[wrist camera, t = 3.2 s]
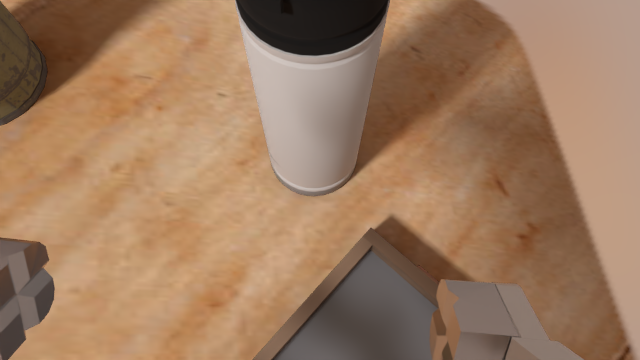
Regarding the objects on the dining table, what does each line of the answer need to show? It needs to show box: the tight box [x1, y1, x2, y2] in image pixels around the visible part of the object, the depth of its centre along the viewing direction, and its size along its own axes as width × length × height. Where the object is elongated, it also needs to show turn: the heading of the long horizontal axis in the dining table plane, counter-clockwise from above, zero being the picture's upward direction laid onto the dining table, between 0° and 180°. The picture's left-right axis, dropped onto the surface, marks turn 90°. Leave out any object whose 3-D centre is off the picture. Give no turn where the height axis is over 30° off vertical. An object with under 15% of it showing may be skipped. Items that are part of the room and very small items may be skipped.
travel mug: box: [235, 0, 390, 196], centre depth 25 cm, size 6×7×20 cm
